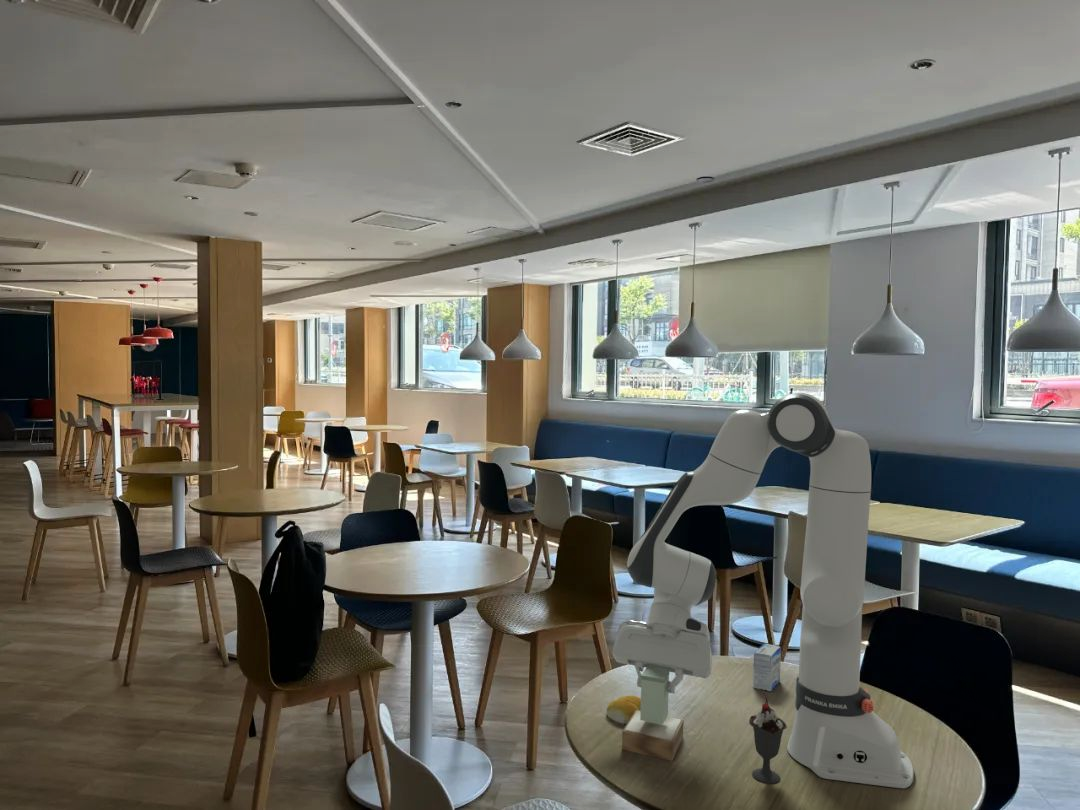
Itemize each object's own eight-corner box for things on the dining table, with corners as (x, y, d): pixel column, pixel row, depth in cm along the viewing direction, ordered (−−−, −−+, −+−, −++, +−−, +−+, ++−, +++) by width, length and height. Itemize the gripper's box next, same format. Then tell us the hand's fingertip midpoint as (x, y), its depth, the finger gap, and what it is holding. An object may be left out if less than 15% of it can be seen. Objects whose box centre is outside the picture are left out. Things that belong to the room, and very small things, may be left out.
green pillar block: (668, 715, 148) (669, 670, 147) (662, 724, 143) (664, 679, 143) (645, 710, 149) (647, 666, 149) (639, 720, 145) (641, 675, 145)
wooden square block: (682, 739, 149) (683, 719, 149) (672, 762, 140) (672, 741, 140) (635, 728, 153) (636, 709, 153) (621, 751, 144) (622, 730, 144)
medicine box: (771, 692, 172) (772, 656, 172) (752, 687, 174) (753, 652, 174) (780, 681, 179) (781, 646, 178) (761, 677, 181) (763, 642, 181)
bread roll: (655, 715, 159) (655, 697, 159) (630, 729, 153) (631, 710, 152) (624, 703, 165) (625, 686, 165) (599, 716, 158) (600, 697, 158)
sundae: (758, 762, 140) (761, 685, 139) (791, 777, 135) (794, 697, 135) (740, 775, 136) (742, 695, 135) (772, 790, 131) (776, 708, 130)
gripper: (617, 611, 157) (602, 673, 148) (714, 626, 149) (704, 692, 140) (623, 625, 161) (608, 686, 153) (717, 640, 153) (707, 705, 145)
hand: (655, 689), depth 146 cm, fingers open, 5 cm apart
